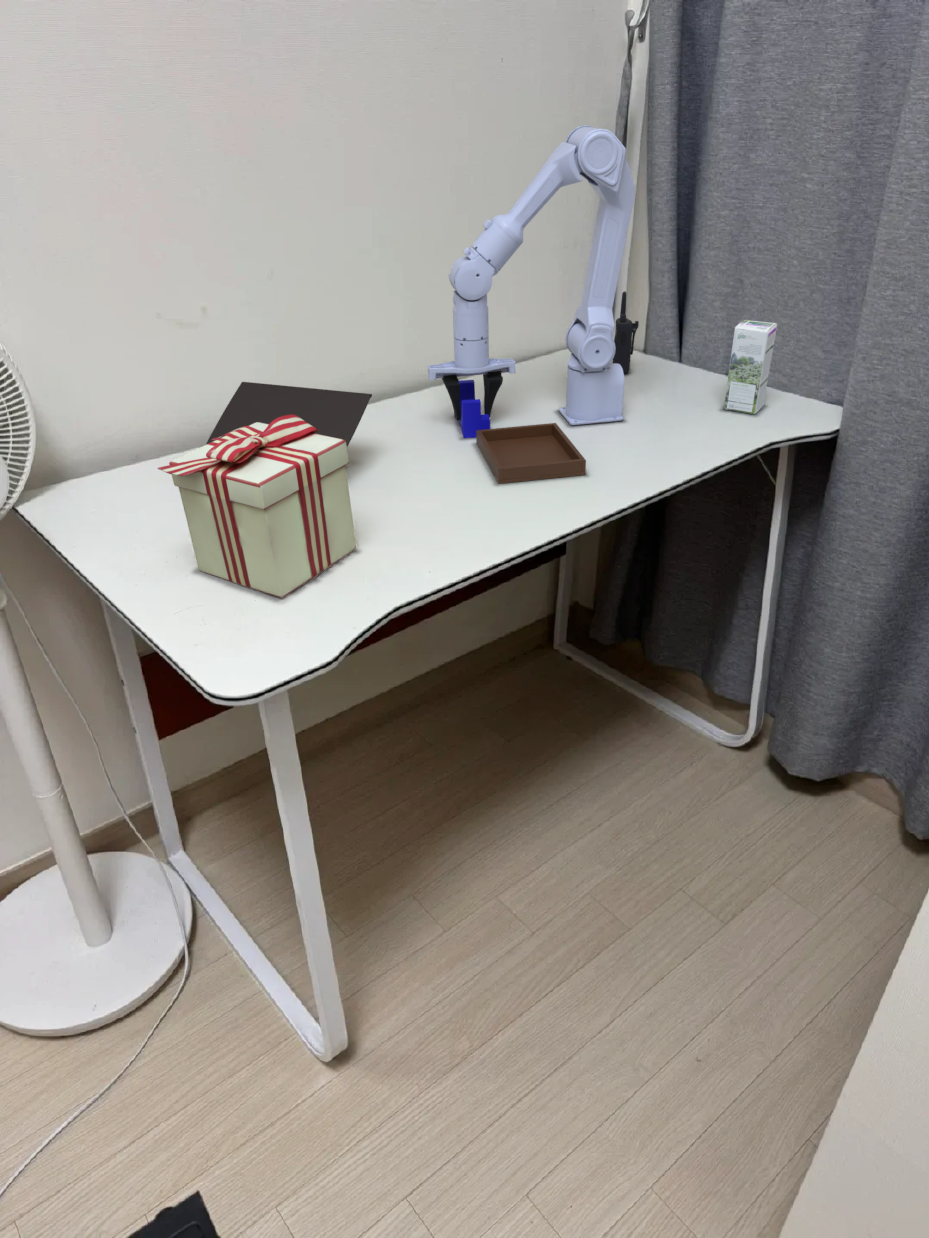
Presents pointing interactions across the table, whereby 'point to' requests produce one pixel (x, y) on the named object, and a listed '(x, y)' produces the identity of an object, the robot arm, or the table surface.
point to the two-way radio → (624, 337)
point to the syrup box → (749, 366)
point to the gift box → (267, 504)
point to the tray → (529, 453)
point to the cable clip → (471, 411)
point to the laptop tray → (294, 409)
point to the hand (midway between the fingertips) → (472, 417)
